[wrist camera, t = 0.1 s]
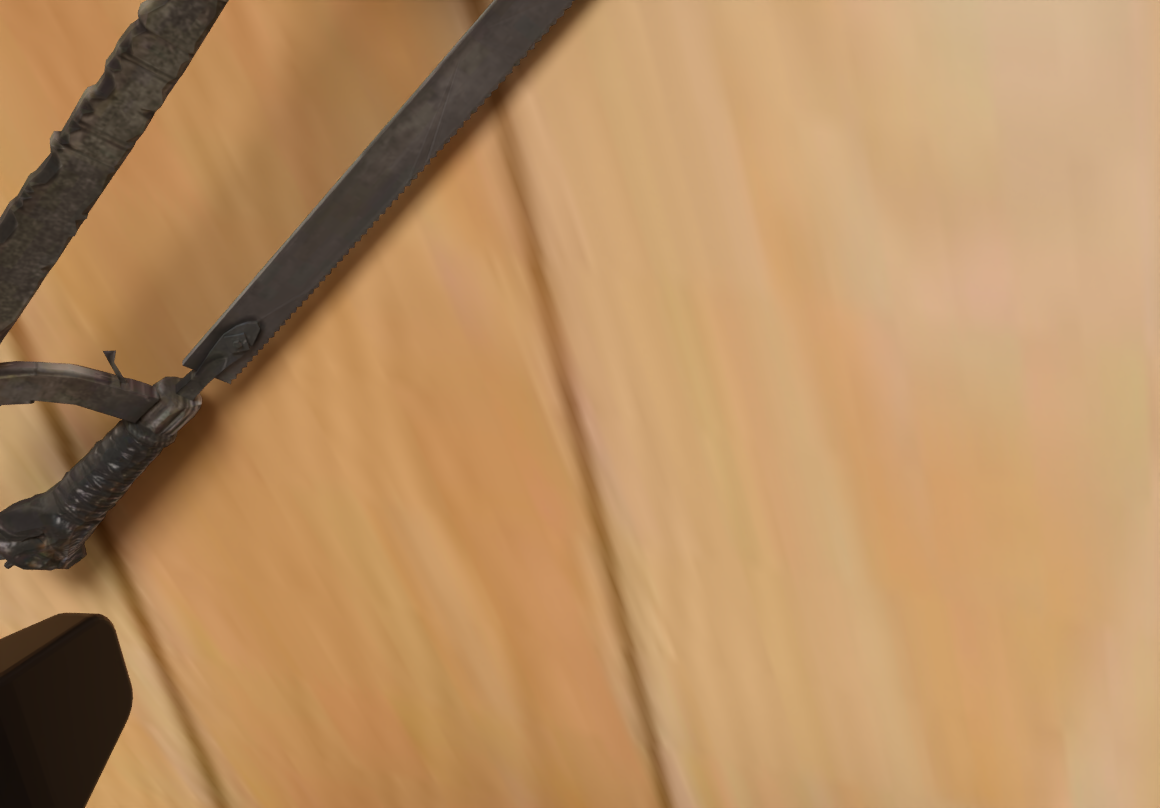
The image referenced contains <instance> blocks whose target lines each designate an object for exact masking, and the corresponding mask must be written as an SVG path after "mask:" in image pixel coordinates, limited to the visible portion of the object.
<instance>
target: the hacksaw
mask: <svg viewBox="0 0 1160 808" xmlns="http://www.w3.org/2000/svg"><path fill="white" fill-rule="evenodd" d="M228 1H229V0H146V1H144V2H143V3H141V4H140V7H139V10H138V17H139V19H137V20H136V21H135V22H133V23H132V24H130V26H129V27H128V28H127V30H126V31H125V32H124V34H123V35H122V36H121V38H120V39H119V40H118V42H117V44H116V47H115V49H114V51H113V52H112V53H111V55H110V56H109V57H108V59H107V60H106V64H105V71H104V73H103V75H102V76H101V78H100V79H99V81H98V82H97V84H95V85H92V86H90V87H88V88H87V89H86V90H85V91H84V93H83V95H82V96H81V98H80V100H79V102H78V104H77V105H76V107H75V109H74V111H73V112H72V114H71V116H70V118H69V119H68V121H67V123H66V124H65V126H64V128H63V129H62V131H54V132H53V134H52V136H51V138H50V148H51V153H50V155H49V156H48V157H47V158H46V159H45V160H44V162H43V163H42V164H41V165H40V166H39V168H38V169H37V170H36V171H34V172H33V173H31V174H30V175H29V176H28V178H27V180H26V182H25V184H24V185H23V187H22V189H21V190H20V192H19V194H18V196H17V197H15V198H14V199H13V200H11V201H10V202H9V204H8V206H7V207H6V209H5V211H4V212H3V214H2V216H1V217H0V343H1V342H2V340H3V339H4V337H5V336H6V335H7V333H8V332H9V330H10V329H11V328H12V326H13V325H14V323H15V322H16V321H17V319H18V318H19V316H20V315H21V313H22V312H23V310H24V309H25V307H26V306H27V304H28V303H29V301H30V300H31V298H32V297H33V295H34V294H35V293H36V291H37V290H38V288H39V287H40V285H41V283H42V282H43V280H44V278H45V277H46V275H47V274H48V273H49V271H50V270H51V268H52V267H53V266H54V264H55V263H56V262H57V260H58V259H59V257H60V256H61V254H62V252H63V251H64V249H65V248H66V246H67V245H68V243H69V242H70V240H71V239H72V237H73V236H75V234H76V232H77V231H78V229H79V227H80V225H81V224H82V223H83V221H84V220H85V219H87V216H88V213H89V211H90V210H91V208H92V207H93V205H94V204H95V202H96V201H97V199H98V198H99V196H100V195H101V193H102V192H103V191H104V189H105V188H106V186H107V185H108V183H109V182H110V180H111V179H112V177H113V176H114V174H115V173H116V171H117V170H118V169H119V167H120V166H121V164H122V163H123V162H124V160H125V159H126V157H127V156H128V154H129V153H130V151H131V150H132V148H133V147H134V145H135V143H136V141H137V140H138V139H139V137H140V136H141V135H142V134H143V133H144V131H145V129H146V128H147V126H148V124H149V123H150V121H151V119H152V118H153V116H154V114H155V112H156V111H157V110H158V109H159V108H160V107H161V106H162V104H163V103H164V101H165V99H166V97H167V96H168V94H169V93H170V91H171V90H172V88H173V87H174V85H175V84H176V83H177V81H178V80H179V78H180V77H181V76H182V75H183V73H184V71H185V70H186V68H187V67H188V65H189V63H190V62H191V60H192V58H193V57H194V55H195V53H196V52H197V50H198V49H199V47H200V45H201V44H202V42H203V41H204V39H205V37H206V36H207V34H208V33H209V31H210V29H211V28H212V26H213V24H214V23H215V21H216V20H217V18H218V16H219V15H220V13H221V12H222V10H223V8H224V7H225V5H226V4H227V2H228ZM572 1H574V0H494V1H493V2H492V3H491V4H490V5H489V7H488V8H487V9H486V10H485V11H484V12H483V13H482V15H481V16H480V17H479V18H478V19H477V20H476V22H475V23H474V24H473V25H472V26H471V27H470V29H469V30H468V31H467V32H466V33H465V34H464V35H463V37H462V38H461V39H460V40H459V41H458V42H457V44H456V45H455V46H454V47H453V48H452V49H451V51H450V52H449V53H448V54H447V55H446V56H445V57H444V59H443V60H442V61H441V62H440V63H439V64H438V66H437V67H436V68H435V69H434V70H433V71H432V73H431V74H430V75H429V76H428V77H427V78H426V79H425V81H424V82H423V83H422V84H421V85H420V86H419V88H418V89H417V90H416V91H415V92H414V93H413V95H412V96H411V97H410V98H409V99H408V100H407V102H406V103H405V104H404V105H403V106H402V107H401V108H400V110H399V111H398V112H397V113H396V114H395V115H394V117H393V118H392V119H391V120H390V121H389V122H388V124H387V125H386V126H385V127H384V128H383V129H382V130H381V132H380V133H379V134H378V135H377V136H376V137H375V139H374V140H373V141H372V142H371V143H370V144H369V146H368V147H367V148H366V149H365V150H364V151H363V152H362V154H361V155H360V156H359V157H358V158H357V159H356V161H355V162H354V163H353V164H352V165H351V166H350V168H349V169H348V170H347V171H346V172H345V173H344V174H343V176H342V177H341V178H340V179H339V180H338V181H337V183H336V184H335V185H334V186H333V187H332V188H331V190H330V191H329V192H328V193H327V194H326V195H325V196H324V198H323V199H322V200H321V201H320V202H319V203H318V205H317V206H316V207H315V208H314V209H313V210H312V212H311V213H310V214H309V215H308V216H307V217H306V219H305V220H304V221H303V222H302V223H301V224H300V225H299V227H298V228H297V229H296V230H295V231H294V232H293V234H292V235H291V236H290V237H289V238H288V239H287V241H286V242H285V243H284V244H283V245H282V246H281V247H280V249H279V250H278V251H277V252H276V253H275V254H274V256H273V257H272V258H271V259H270V260H269V261H268V263H267V264H266V265H265V266H264V267H263V268H262V269H261V271H260V272H259V273H258V274H257V275H256V276H255V278H254V279H253V280H252V281H251V282H250V283H249V285H248V286H247V287H246V288H245V289H244V290H243V291H242V293H241V294H240V295H239V296H238V297H237V298H236V300H235V301H234V302H233V303H232V304H231V305H230V307H229V308H228V309H227V310H226V311H225V312H224V313H223V315H222V316H221V317H220V318H219V319H218V320H217V322H216V323H215V324H214V325H213V326H212V327H211V329H210V330H209V331H208V332H207V333H206V334H205V336H204V337H203V338H202V339H201V340H200V341H199V342H198V344H197V345H196V346H195V347H194V348H193V349H192V351H191V352H190V353H189V354H188V355H187V356H186V358H185V359H184V360H183V366H185V367H188V368H191V369H193V370H192V371H191V372H189V373H188V374H187V375H186V376H185V377H184V378H178V377H165V378H163V379H162V380H160V381H159V382H157V383H156V384H154V385H153V386H151V385H148V384H146V383H143V382H140V381H136V380H133V379H129V378H124V377H123V376H122V375H121V373H120V371H119V370H118V368H117V366H116V365H115V363H114V359H115V353H116V351H103V352H104V354H105V356H106V358H107V359H108V361H109V363H110V365H111V366H112V368H113V370H114V372H115V374H116V375H114V374H110V373H106V372H103V371H99V370H95V369H91V368H87V367H83V366H79V365H74V364H62V363H46V362H24V361H14V362H4V363H0V406H1V405H11V404H32V403H34V401H44V402H54V403H64V404H73V405H78V406H81V407H85V408H88V409H91V410H94V411H98V412H101V413H104V414H107V415H111V416H114V417H117V418H120V419H122V420H121V421H119V423H118V424H117V425H116V426H115V427H114V428H113V429H112V430H111V431H110V432H108V433H107V435H106V436H105V437H104V438H103V439H102V440H100V441H98V442H96V444H95V446H94V447H93V448H92V449H91V450H90V452H89V453H88V454H87V455H86V456H85V457H84V458H83V459H81V460H80V461H79V462H78V463H77V464H76V465H75V466H74V467H73V468H72V469H71V470H70V471H69V472H66V474H65V476H64V477H63V479H62V480H61V481H60V482H58V483H57V484H56V485H54V486H53V487H52V488H50V489H49V490H48V491H47V492H45V493H41V494H37V495H35V496H33V497H31V498H28V499H24V500H21V501H19V502H16V503H14V504H12V505H11V506H9V507H8V508H6V509H4V510H3V511H1V512H0V560H4V559H6V560H7V562H6V563H5V564H4V566H5V567H6V568H7V569H9V568H11V567H12V566H13V565H15V566H17V567H20V568H22V569H27V570H53V569H69V568H70V567H71V566H73V565H74V564H76V563H77V562H79V561H80V560H81V559H82V558H83V557H85V556H86V555H87V553H86V549H85V545H84V543H85V541H86V540H87V539H88V537H89V536H90V535H91V534H92V533H93V532H94V530H95V529H96V527H97V526H98V525H99V523H100V522H101V521H102V520H103V519H104V518H105V516H106V513H107V511H108V510H110V509H111V508H112V507H114V506H115V504H116V502H117V501H118V500H119V499H120V498H121V497H122V496H123V495H124V494H125V492H126V491H127V490H128V489H129V487H130V486H131V485H132V483H133V482H134V480H135V479H136V478H137V477H138V476H139V475H140V474H141V473H142V472H143V471H144V470H145V469H146V467H147V466H148V465H149V464H150V463H151V462H152V461H153V460H154V459H155V458H156V457H157V456H158V455H159V454H160V452H161V451H162V449H163V448H164V447H167V446H168V445H170V444H171V443H173V442H174V441H175V439H176V436H177V431H178V430H180V429H181V428H182V427H183V426H184V425H185V424H186V423H188V422H189V421H190V420H191V419H192V418H193V417H194V416H195V415H196V413H197V412H198V410H199V409H200V407H201V404H202V397H201V395H200V392H201V391H202V389H203V388H204V387H205V386H206V385H207V384H208V383H209V382H210V381H211V380H212V379H214V378H216V379H219V380H221V381H224V382H227V383H229V384H231V381H232V379H236V377H237V374H238V373H242V368H244V367H247V362H250V361H252V359H253V356H255V355H258V350H261V349H263V346H264V344H266V343H268V342H269V338H271V337H274V332H276V331H279V330H280V326H281V325H285V320H287V319H290V318H291V313H295V312H296V310H297V307H299V306H302V301H303V300H307V299H308V296H309V294H313V291H314V289H315V288H317V287H319V282H320V281H325V276H326V275H329V274H331V268H336V267H337V262H339V261H342V260H343V255H347V254H348V253H349V249H350V248H354V247H355V242H357V241H360V240H361V235H365V234H367V229H368V228H372V227H373V222H374V221H379V217H380V214H385V211H386V208H388V207H391V205H392V201H393V200H398V196H399V194H400V193H404V190H405V186H410V185H411V181H412V180H413V179H417V174H418V173H419V172H422V171H423V170H424V166H425V165H428V164H430V158H433V157H436V156H437V151H439V150H442V149H443V146H444V144H446V143H448V142H450V138H451V137H452V136H454V135H456V134H457V129H459V128H462V127H463V123H464V121H466V120H469V119H470V116H471V114H472V113H475V112H477V108H478V107H479V106H481V105H483V104H484V100H485V98H488V97H490V96H491V92H492V91H494V90H496V89H498V84H499V83H501V82H503V81H505V77H506V76H507V75H509V74H510V73H512V70H513V66H517V65H520V59H522V58H524V57H527V51H528V50H531V49H534V46H535V43H536V42H538V41H541V38H542V35H544V34H546V33H548V32H549V27H550V26H552V25H554V24H556V21H557V19H558V18H560V17H562V16H563V15H564V10H566V9H568V8H570V7H571V5H572Z"/></svg>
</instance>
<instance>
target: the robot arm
mask: <svg viewBox="0 0 1160 808" xmlns="http://www.w3.org/2000/svg"><path fill="white" fill-rule="evenodd" d="M132 700H133V692H132V685H131V682H130V678H129V675H128V671H127V668H126V665H125V661H124V658H123V654H122V651H121V648H120V644H119V641H118V637H117V634H116V630H115V628H114V625H113V624H112V622H111V621H110V620H109V619H108V618H107V617H105V616H103V615H101V614H89V613H62V614H57V615H54V616H52V617H50V618H48V619H45V620H43V621H41V622H38V623H36V624H34V625H31V626H29V627H27V628H25V629H22V630H20V631H18V632H15V633H13V634H11V635H9V636H6V637H4V638H2V639H0V808H85V806H86V804H87V802H88V800H89V798H90V796H91V794H92V792H93V790H94V788H95V786H96V784H97V782H98V780H99V777H100V775H101V773H102V771H103V769H104V767H105V765H106V763H107V761H108V759H109V757H110V755H111V753H112V751H113V749H114V747H115V745H116V743H117V741H118V738H119V736H120V734H121V732H122V730H123V728H124V726H125V724H126V722H127V720H128V717H129V715H130V711H131V707H132Z"/></svg>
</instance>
